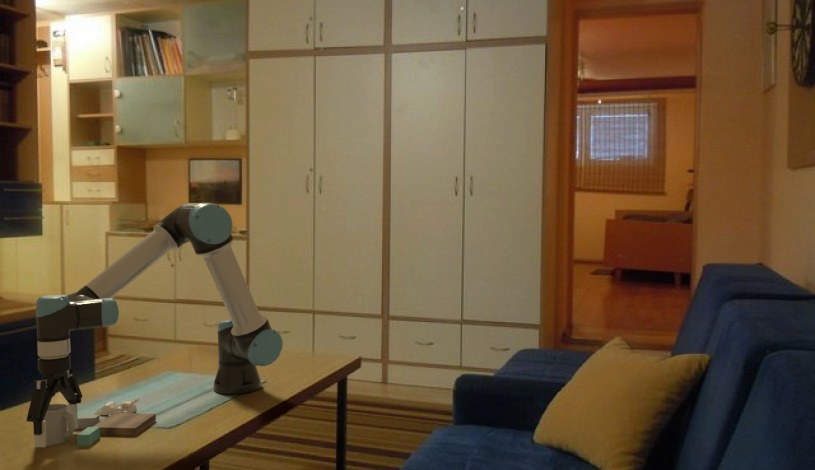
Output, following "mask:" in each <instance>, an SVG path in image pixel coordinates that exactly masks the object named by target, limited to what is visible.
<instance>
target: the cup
mask: <svg viewBox="0 0 815 470" xmlns="http://www.w3.org/2000/svg"><path fill="white" fill-rule="evenodd" d="M44 420H46V438H47V446H46V447H53V446H58V445H61V444H65V442H66V441H67V439H68V438H71V437H72V436H73V435H74V432H75V430H76V429H75V420H74V418H73V416H72V415H71V414H70V413H68V412H67V406H66V404H65V403H50V404H49V407H48V409H47V412H46V415H45V417H44ZM67 422H68V429H67Z"/></svg>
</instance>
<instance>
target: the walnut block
mask: <svg viewBox="0 0 815 470" xmlns="http://www.w3.org/2000/svg"><path fill="white" fill-rule="evenodd" d="M156 417H157V415H156V413H136V412H135V413H114V414H112V415H111V416H106V418H104V419H103V420H100V422H99V423H98V424H96V425H94V426H93V427H100V436H101V435H103V436H131V437H132V436H133V437H134V436H137V435H138V434H140V433H142V431H144V430H145V429H147V428H148V427H150V426H151V425H152V424H154V423H155V422H156V421H155V420H157V419H156ZM154 421H155V422H154ZM153 422H154V423H153ZM151 423H152V424H151ZM150 424H151V425H150Z"/></svg>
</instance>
